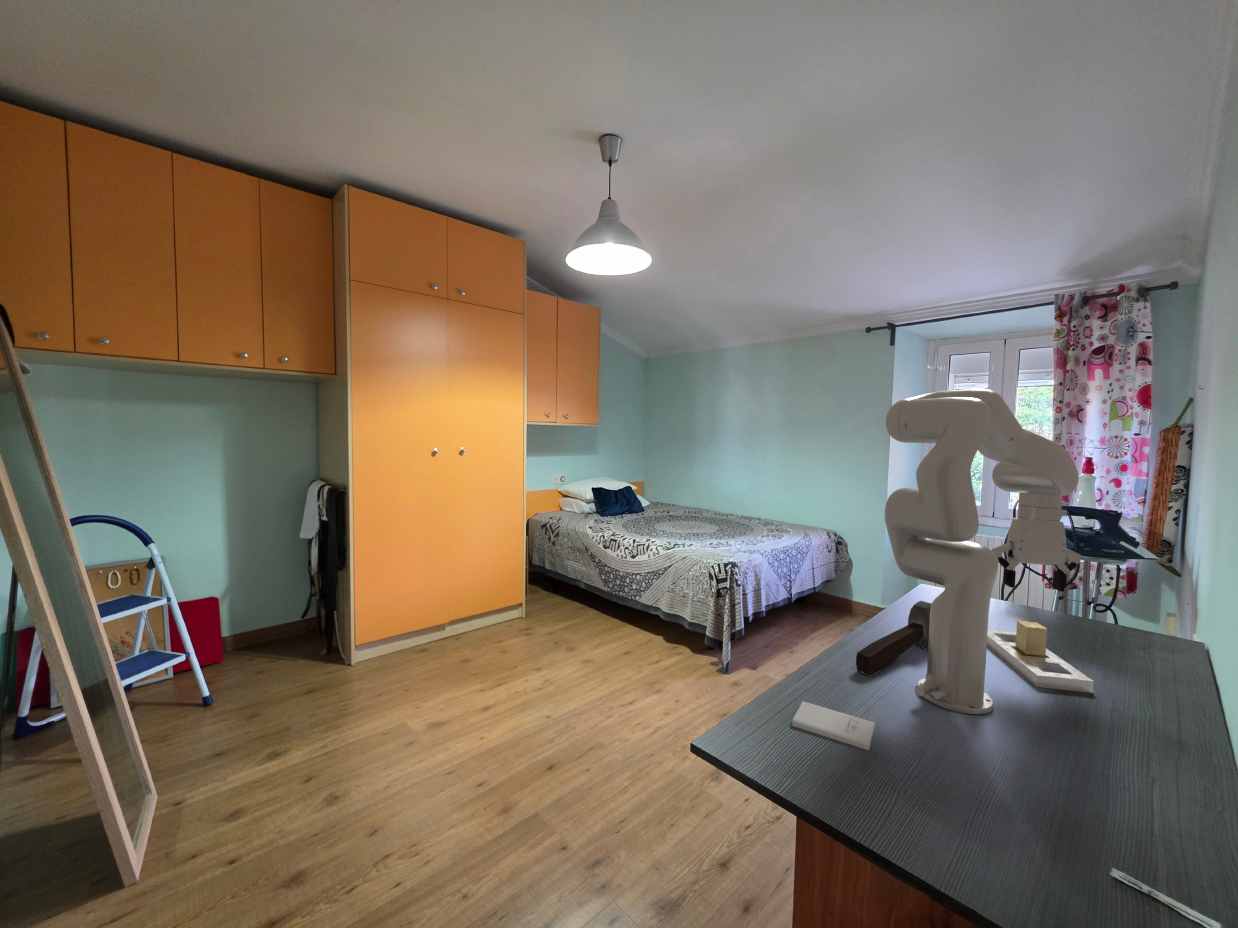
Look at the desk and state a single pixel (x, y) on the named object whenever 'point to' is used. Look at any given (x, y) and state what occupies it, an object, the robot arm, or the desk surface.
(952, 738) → the desk surface
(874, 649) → the hammer
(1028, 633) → the brass peg
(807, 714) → the external hard drive
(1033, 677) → the white flat frame
